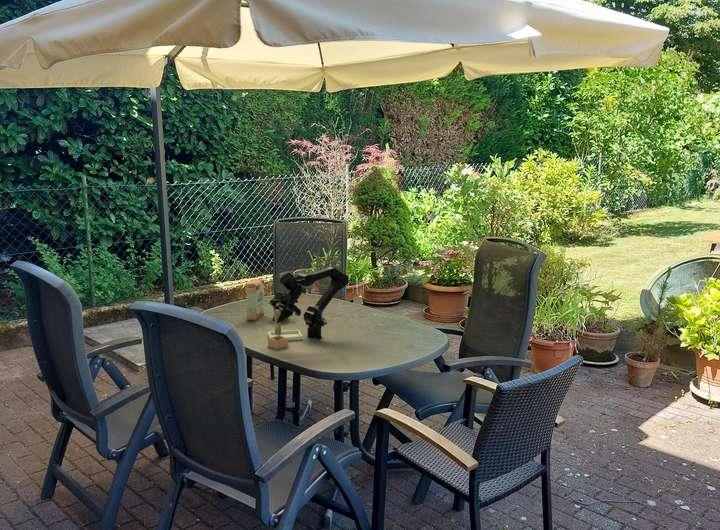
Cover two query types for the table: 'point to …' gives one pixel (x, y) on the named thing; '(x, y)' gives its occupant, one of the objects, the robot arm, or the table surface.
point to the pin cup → (278, 342)
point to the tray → (288, 334)
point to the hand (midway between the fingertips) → (275, 321)
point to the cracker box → (255, 299)
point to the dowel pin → (277, 325)
